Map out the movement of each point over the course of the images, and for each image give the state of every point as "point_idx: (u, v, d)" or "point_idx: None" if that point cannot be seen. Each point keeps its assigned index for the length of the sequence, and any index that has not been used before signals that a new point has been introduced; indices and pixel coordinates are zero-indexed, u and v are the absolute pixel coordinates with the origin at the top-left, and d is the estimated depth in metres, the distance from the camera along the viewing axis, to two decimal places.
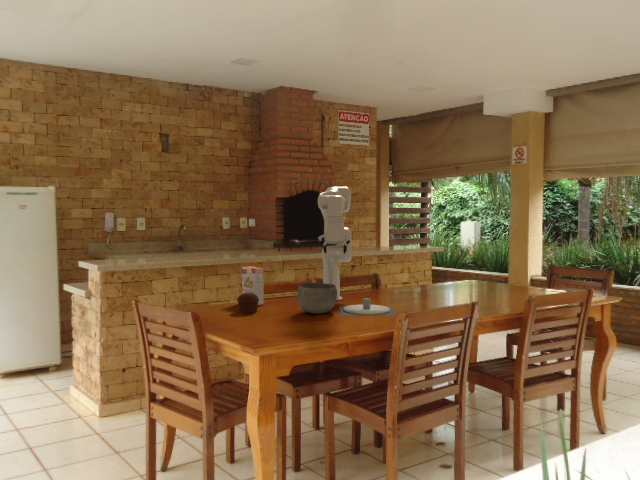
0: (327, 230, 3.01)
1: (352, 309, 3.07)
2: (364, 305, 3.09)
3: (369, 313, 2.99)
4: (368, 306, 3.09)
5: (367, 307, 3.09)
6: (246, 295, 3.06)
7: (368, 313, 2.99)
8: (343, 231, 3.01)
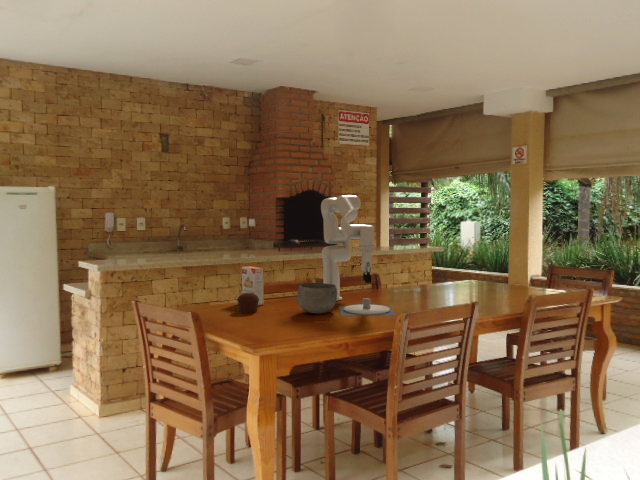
0: (371, 259, 3.05)
1: (352, 309, 3.07)
2: (364, 305, 3.09)
3: (369, 313, 2.99)
4: (368, 306, 3.09)
5: (367, 307, 3.09)
6: (246, 295, 3.06)
7: (368, 313, 2.99)
8: None
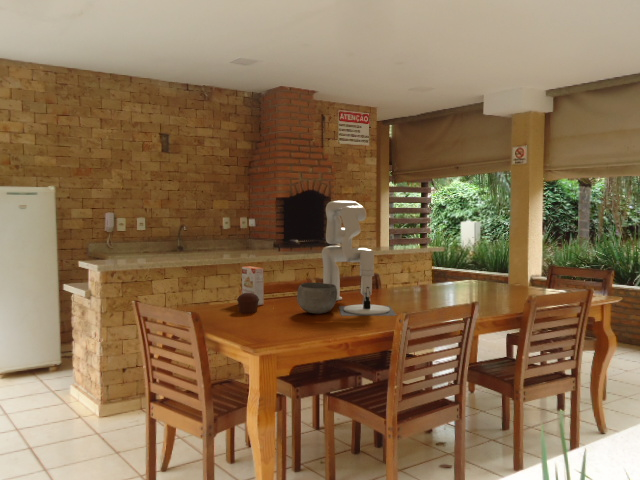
0: (371, 284, 3.06)
1: (352, 309, 3.07)
2: None
3: (369, 313, 2.99)
4: None
5: None
6: (246, 295, 3.06)
7: (368, 313, 2.99)
8: None
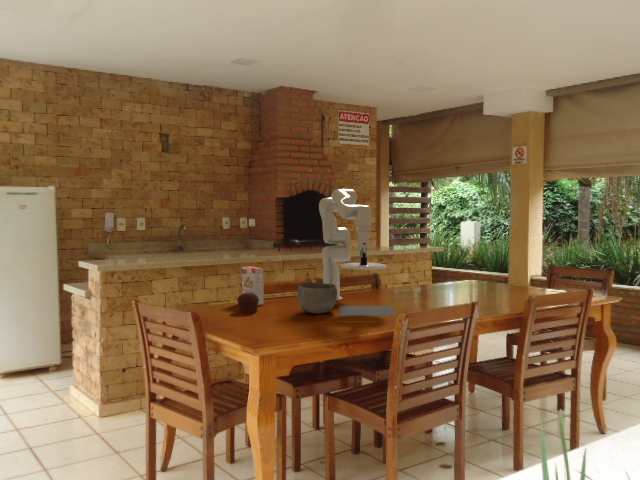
0: (368, 239, 3.04)
1: (349, 265, 3.06)
2: None
3: (366, 268, 2.97)
4: None
5: None
6: (246, 295, 3.06)
7: (365, 268, 2.97)
8: None
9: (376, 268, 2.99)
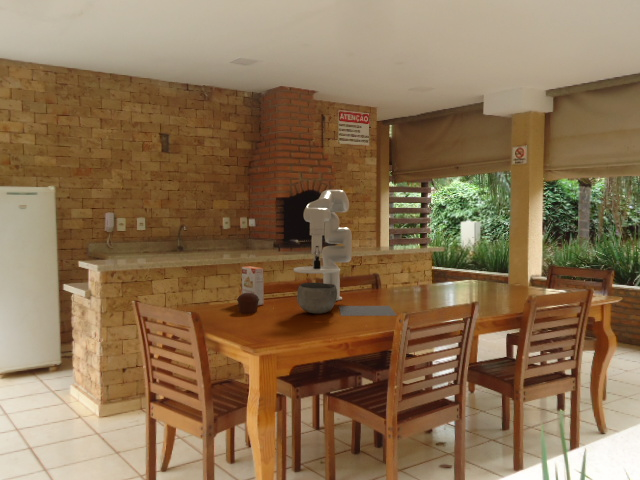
0: (321, 243, 3.00)
1: (302, 269, 3.01)
2: None
3: (318, 272, 2.93)
4: None
5: None
6: (246, 295, 3.06)
7: (317, 272, 2.93)
8: None
9: (328, 272, 2.94)
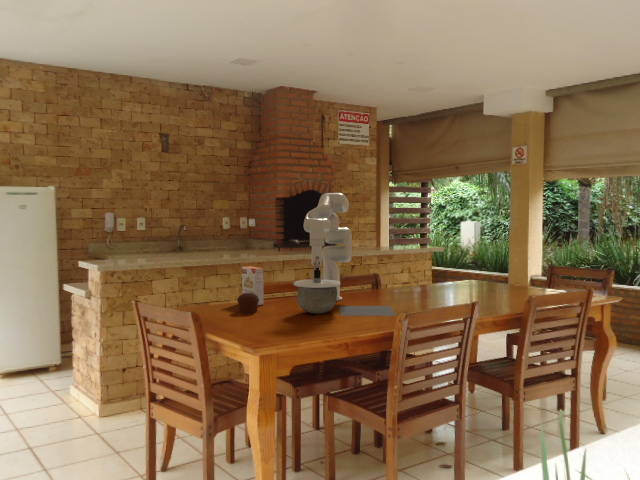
0: (321, 253, 3.01)
1: (302, 283, 3.02)
2: (314, 279, 3.04)
3: (318, 286, 2.94)
4: (318, 280, 3.04)
5: (317, 281, 3.04)
6: (246, 295, 3.06)
7: (316, 286, 2.94)
8: None
9: (328, 286, 2.95)
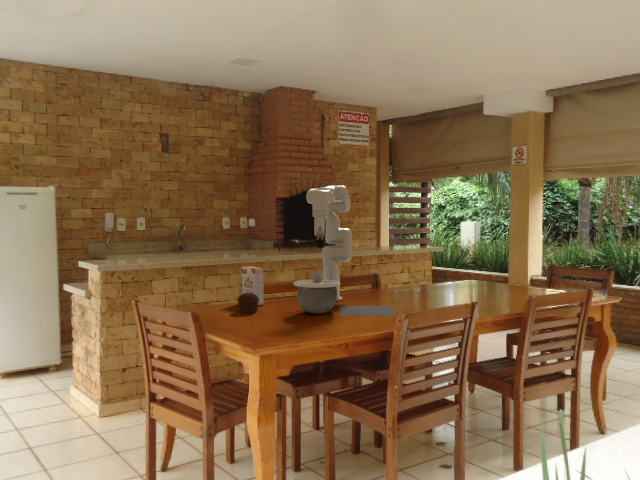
0: (324, 224, 3.06)
1: (302, 283, 3.02)
2: (314, 279, 3.04)
3: (318, 286, 2.94)
4: (318, 280, 3.04)
5: (317, 281, 3.04)
6: (246, 295, 3.06)
7: (317, 286, 2.94)
8: None
9: (328, 286, 2.95)
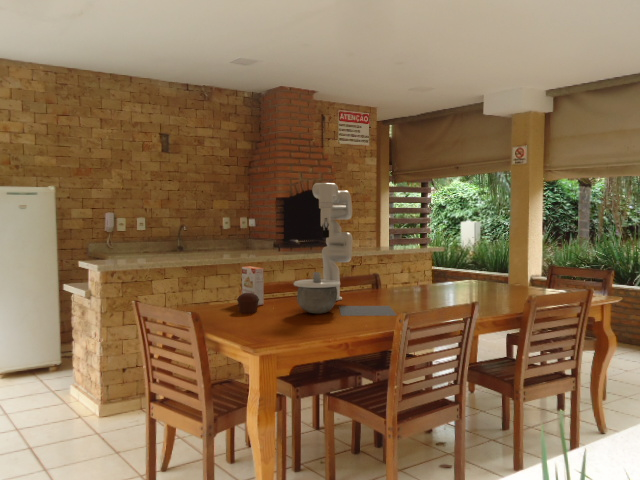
0: (329, 215, 3.20)
1: (302, 283, 3.02)
2: (314, 279, 3.04)
3: (318, 286, 2.94)
4: (318, 280, 3.04)
5: (317, 281, 3.04)
6: (246, 295, 3.06)
7: (317, 286, 2.94)
8: None
9: (328, 286, 2.95)
